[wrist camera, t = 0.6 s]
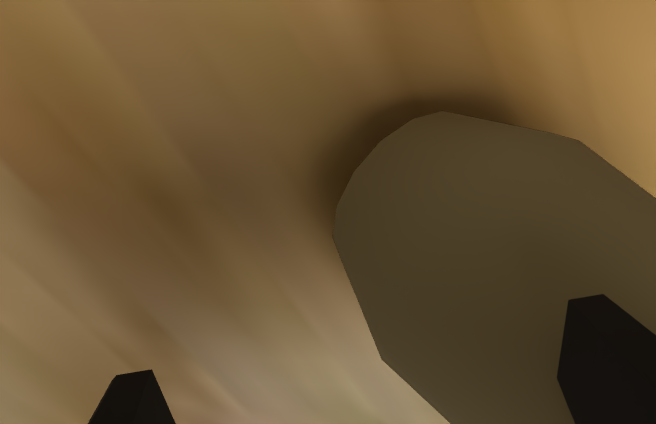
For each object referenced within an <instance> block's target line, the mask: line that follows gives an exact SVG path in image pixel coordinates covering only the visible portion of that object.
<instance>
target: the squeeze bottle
mask: <svg viewBox="0 0 656 424" xmlns="http://www.w3.org/2000/svg"><path fill="white" fill-rule="evenodd" d="M333 239H334V242H335V245H336V247H337V250H338V253H339V255H340V258H341V260H342V263H343V265H344V268H345V270H346V273H347V275H348V278H349V280H350V282H351V285H352V287H353V290H354V292H355V295H356V297H357V300H358V302H359V305H360V307H361V310H362V312H363V314H364V317H365V319H366V322H367V324H368V327H369V329H370V332H371V334H372V337H373V339H374V341H375V344H376V346H377V349H378V351H379V354H380V356H381V359H382V360H383V361H384V362H385V363H386V364H387V365H388V366H389V367H390V368H392V369H393V370H394V371H395V372H396V373H397V374H398V375H399V376H400V377H401V378H402V379H403V380H404V381H406V382H407V383H408V384H409V385H410V386H411V387H412V388H413V389H414V390H415V391H416V392H417V393H418V394H419V395H421V396H422V397H423V398H424V399H425V400H426V401H427V402H428V403H429V404H430V405H431V406H432V407H433V408H435V409H436V410H437V411H438V412H439V413H440V414H441V415H442V416H443V417H444V418H445V419H446V420H447V421H449V422H450V423H451V424H575V422H574V420H573V417H572V415H571V413H570V410H569V408H568V405H567V403H566V400H565V398H564V395H563V393H562V390H561V388H560V385H559V382H558V380H557V372H558V366H559V359H560V352H561V346H562V339H563V332H564V325H565V319H566V312H567V305H568V300H570V299H576V298H582V297H588V296H594V295H600V294H604V295H605V296H607V297H608V298H609V299H610V300H612V301H613V302H614V303H616V304H617V305H618V306H619V307H621V308H622V309H623V310H625V311H626V312H627V313H628V314H630V315H631V316H632V317H634V318H635V319H636V320H637V321H639V322H640V323H641V324H642V325H644V326H645V327H646V328H648V329H649V330H650V331H651V332H653V333H654V334H655V335H656V198H655V197H653V196H652V195H651V194H649V193H648V192H647V191H645V190H644V189H643V188H641V187H640V186H639V185H637V184H636V183H635V182H633V181H632V180H631V179H629V178H628V177H627V176H625V175H624V174H623V173H621V172H620V171H619V170H617V169H616V168H615V167H613V166H612V165H611V164H609V163H608V162H607V161H606V160H604V159H603V158H602V157H600V156H599V155H598V154H596V153H595V152H594V151H592V150H591V149H590V148H588V147H587V146H586V145H584V144H583V143H582V142H580V141H579V140H575V139H571V138H568V137H564V136H560V135H557V134H553V133H548V132H544V131H539V130H534V129H529V128H524V127H519V126H514V125H509V124H504V123H499V122H494V121H490V120H485V119H480V118H475V117H470V116H465V115H460V114H455V113H450V112H445V111H440V112H436V113H432V114H429V115H425V116H421V117H418V118H414V119H412V120H410V121H409V122H407V123H406V124H404V125H403V126H401V127H400V128H398V129H397V130H396V131H394V132H393V133H391V134H390V135H388V136H387V137H385V138H384V139H382V140H381V141H380V142H379V143H378V144H377V145H376V147H375V148H374V149H373V150H372V151H371V152H370V154H369V155H368V156H367V157H366V158H365V159H364V161H363V162H362V163H361V164H360V165H359V166H358V167H357V169H356V170H355V171H354V172H353V174H352V176H351V178H350V180H349V182H348V184H347V186H346V188H345V190H344V192H343V194H342V196H341V198H340V201H339V203H338V205H337V207H336V215H335V222H334V229H333Z"/></svg>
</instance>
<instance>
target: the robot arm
mask: <svg viewBox="0 0 656 424" xmlns="http://www.w3.org/2000/svg"><path fill="white" fill-rule="evenodd" d="M557 380H558V382H559V385H560V388H561V390H562V393H563V395H564V398H565V400H566V403H567V405H568V408H569V410H570V413H571V415H572V417H573V420H574V422H575V424H656V335H655V334H654V333H653V332H651V331H650V330H649V329H648V328H646V327H645V326H644V325H642V324H641V323H640V322H639V321H637V320H636V319H635V318H634V317H632V316H631V315H630V314H628V313H627V312H626V311H625V310H623V309H622V308H621V307H619V306H618V305H617V304H616V303H614V302H613V301H612V300H610V299H609V298H608V297H607V296H605V295H604V294H600V295H594V296H588V297H582V298H576V299H570V300H568V305H567V312H566V319H565V325H564V332H563V339H562V346H561V352H560V359H559V366H558V372H557ZM88 424H176V423H175V421H174V419H173V417H172V414H171V412H170V410H169V408H168V405H167V403H166V401H165V398H164V396H163V394H162V392H161V389H160V387H159V385H158V382H157V380H156V378H155V376H154V373H153V371H152V369H151V370H145V371H139V372H133V373H127V374H121V375H116V376H115V378H114V379H113V380H112V381H111V383H110V385H109V387H108V389H107V390H106V392H105V394H104V396H103V398H102V399H101V401H100V403H99V405H98V407H97V408H96V410H95V412H94V414H93V415H92V417H91V419H90V421H89V423H88Z"/></svg>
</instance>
